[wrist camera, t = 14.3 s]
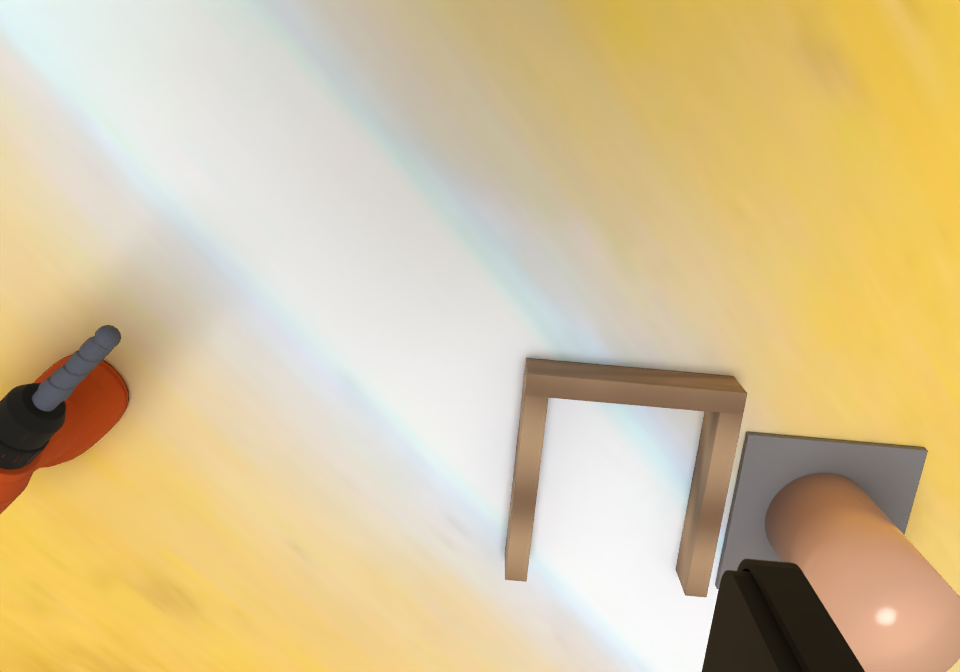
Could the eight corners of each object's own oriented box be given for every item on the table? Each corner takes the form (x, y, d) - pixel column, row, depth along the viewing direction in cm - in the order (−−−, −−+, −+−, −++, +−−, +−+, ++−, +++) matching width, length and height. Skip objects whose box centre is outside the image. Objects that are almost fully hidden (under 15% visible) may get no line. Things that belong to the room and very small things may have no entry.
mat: (746, 431, 44) (748, 434, 44) (924, 447, 44) (927, 450, 44) (715, 584, 47) (716, 588, 47) (881, 599, 47) (885, 603, 47)
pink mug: (775, 468, 44) (852, 572, 35) (882, 477, 44) (987, 583, 35) (747, 597, 47) (811, 726, 37) (848, 605, 47) (937, 737, 37)
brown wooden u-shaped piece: (526, 358, 43) (527, 373, 41) (733, 376, 43) (747, 393, 41) (504, 554, 47) (505, 579, 45) (695, 571, 47) (706, 597, 45)
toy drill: (270, 279, 41) (121, 408, 28) (73, 465, 47) (-126, 642, 34) (203, 212, 40) (16, 311, 27) (10, 410, 46) (-219, 571, 33)
